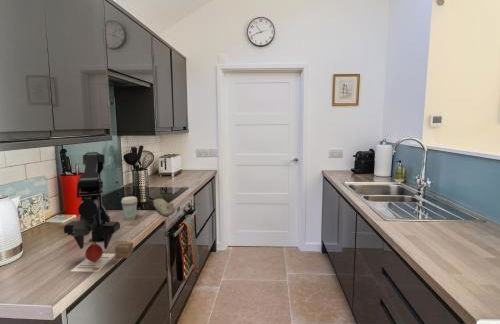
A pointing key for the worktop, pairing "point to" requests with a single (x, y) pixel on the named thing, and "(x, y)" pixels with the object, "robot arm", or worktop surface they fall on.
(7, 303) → the worktop surface
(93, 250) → the onion
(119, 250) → the walnut block
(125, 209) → the coffee cup
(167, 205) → the long grey stone
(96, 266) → the letter
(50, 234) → the worktop surface
